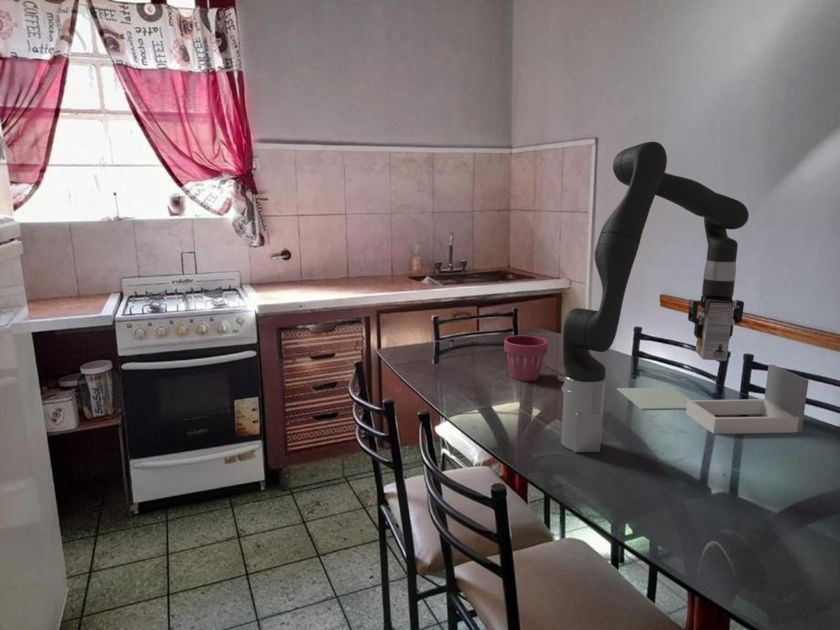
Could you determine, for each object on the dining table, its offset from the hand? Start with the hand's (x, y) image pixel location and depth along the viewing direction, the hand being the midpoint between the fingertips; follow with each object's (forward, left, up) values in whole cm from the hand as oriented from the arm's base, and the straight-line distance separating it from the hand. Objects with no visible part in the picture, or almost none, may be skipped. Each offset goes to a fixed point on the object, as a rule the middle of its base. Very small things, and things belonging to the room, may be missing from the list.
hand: (712, 338), depth 160 cm
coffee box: (0, 0, -5) cm, 5 cm away
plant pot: (+35, +43, -22) cm, 60 cm away
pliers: (+26, +30, -22) cm, 45 cm away
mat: (+12, +8, -21) cm, 26 cm away
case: (-8, -5, -21) cm, 23 cm away
